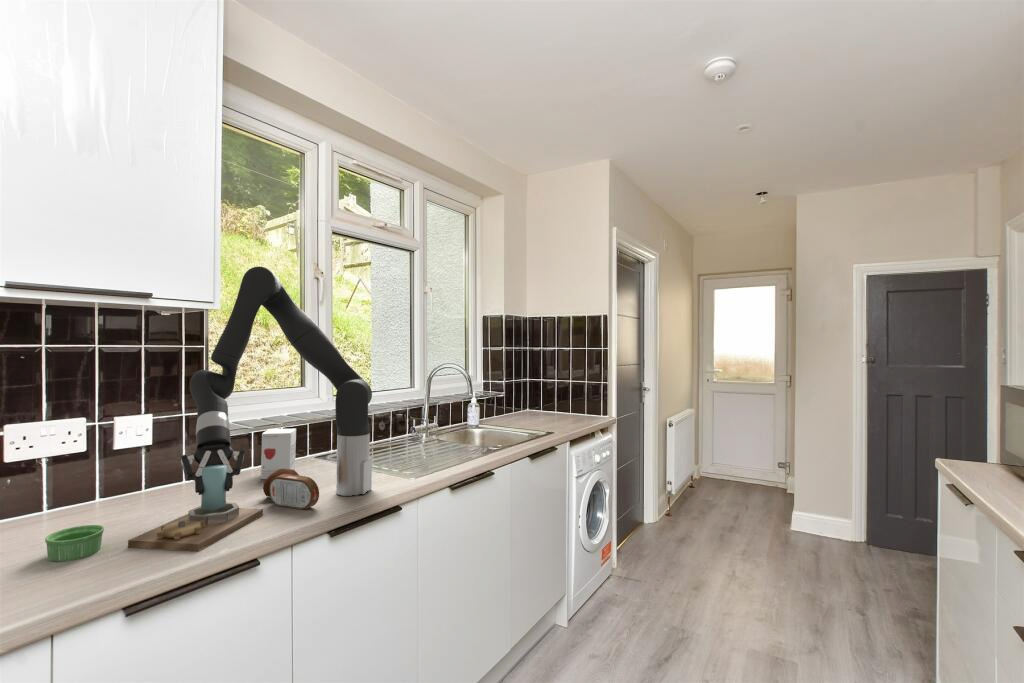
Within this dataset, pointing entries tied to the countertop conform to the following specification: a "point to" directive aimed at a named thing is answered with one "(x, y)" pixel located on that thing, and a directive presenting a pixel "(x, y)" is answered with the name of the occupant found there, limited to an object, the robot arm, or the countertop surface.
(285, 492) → the tin
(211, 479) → the light blue cylinder
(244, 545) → the countertop surface
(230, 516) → the board
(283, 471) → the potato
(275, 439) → the supplement box
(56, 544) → the ramekin
